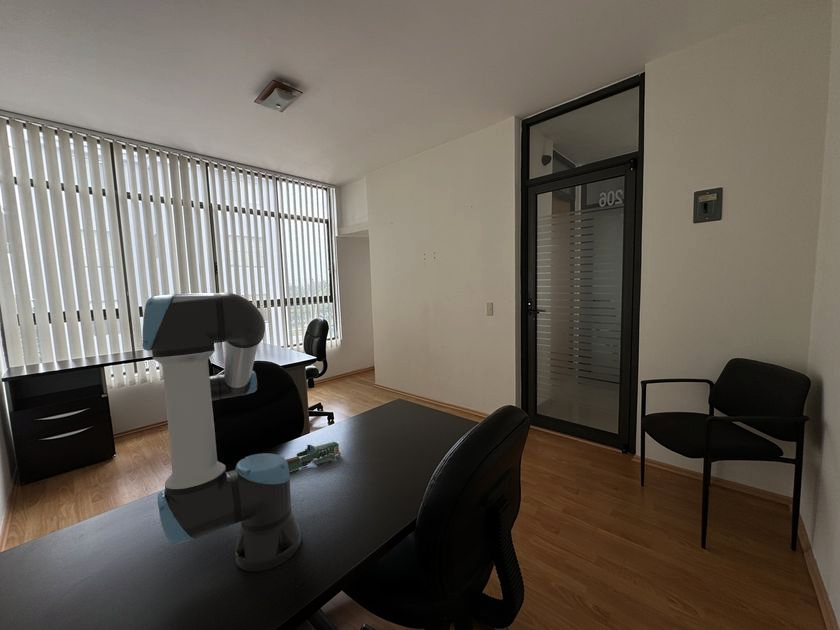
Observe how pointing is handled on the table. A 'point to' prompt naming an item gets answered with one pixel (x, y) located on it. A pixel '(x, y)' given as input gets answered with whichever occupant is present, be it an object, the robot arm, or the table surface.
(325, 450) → the hoverbike
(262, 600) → the table surface
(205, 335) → the robot arm
